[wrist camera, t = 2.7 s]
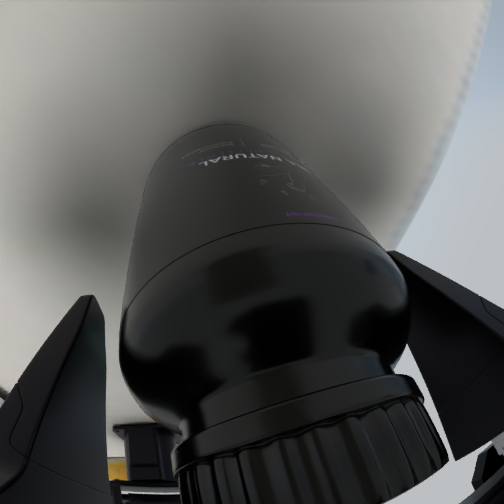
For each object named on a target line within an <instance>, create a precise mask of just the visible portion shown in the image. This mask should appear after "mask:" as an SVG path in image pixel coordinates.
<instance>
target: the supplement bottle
mask: <svg viewBox="0 0 504 504" xmlns="http://www.w3.org/2000/svg"><path fill="white" fill-rule="evenodd" d="M410 327H411V301H410V296H409V291H408V287H407V284H406V282H405V280H404V277H403V275H402V273H401V272H400V270H399V269H398V267H397V266H396V264H395V263H394V261H393V260H392V259H391V258H390V256H389V255H388V253H387V252H386V251H385V250H384V248H383V247H382V246H381V245H380V244H379V243H378V241H377V240H376V239H375V238H374V237H373V236H372V235H371V234H370V232H369V231H368V230H367V229H366V228H365V227H364V226H363V225H362V224H361V222H360V221H359V220H358V219H357V218H356V217H355V216H354V215H353V214H352V213H351V212H350V211H349V210H348V208H347V207H346V206H345V205H344V204H343V203H342V202H341V201H340V200H339V199H338V198H337V197H336V196H335V195H334V194H333V193H332V192H331V191H330V190H329V189H328V188H327V187H326V186H325V185H324V184H323V183H322V182H321V181H320V180H319V179H318V178H317V177H316V176H315V175H314V174H313V173H312V172H311V171H310V170H309V169H308V168H307V167H306V166H305V165H304V164H303V163H302V162H301V161H300V160H299V159H298V158H296V157H295V156H294V155H293V154H292V153H291V152H290V151H289V150H288V149H287V148H285V147H284V146H283V145H282V144H281V143H279V142H278V141H277V140H275V139H274V138H272V137H271V136H269V135H267V134H265V133H263V132H261V131H259V130H256V129H253V128H250V127H246V126H240V125H216V126H210V127H206V128H202V129H200V130H197V131H194V132H192V133H190V134H188V135H186V136H184V137H183V138H181V139H179V140H178V141H177V142H175V143H174V144H173V145H171V146H170V147H169V148H168V149H167V150H166V151H165V152H164V153H163V155H162V156H161V157H160V158H159V160H158V161H157V162H156V164H155V166H154V168H153V169H152V171H151V173H150V176H149V178H148V180H147V184H146V187H145V190H144V194H143V198H142V202H141V206H140V210H139V215H138V219H137V224H136V229H135V234H134V239H133V244H132V249H131V254H130V260H129V266H128V272H127V278H126V284H125V291H124V298H123V306H122V314H121V322H120V332H119V363H120V368H121V372H122V376H123V379H124V381H125V383H126V386H127V388H128V390H129V392H130V393H131V395H132V397H133V398H134V400H135V401H136V403H137V404H138V405H139V406H140V408H141V409H142V410H143V411H144V412H145V413H146V414H147V415H148V416H149V417H150V418H152V419H153V420H154V421H155V422H157V423H158V424H160V425H161V426H163V427H165V428H166V429H168V430H170V431H172V432H174V433H176V434H179V435H181V436H182V440H183V441H181V442H180V443H179V444H177V445H176V446H175V447H174V448H173V450H172V452H171V463H172V471H173V476H174V478H175V479H176V480H177V481H178V483H179V492H180V498H181V504H384V503H386V502H388V501H390V500H392V499H394V498H396V497H397V496H399V495H401V494H403V493H405V492H406V491H408V490H410V489H411V488H413V487H415V486H417V485H418V484H420V483H421V482H423V481H424V480H426V479H427V478H429V477H430V476H432V475H433V474H434V473H436V472H437V471H438V470H440V469H441V468H442V467H443V466H444V465H445V464H446V463H447V462H448V461H449V458H448V453H447V451H446V448H445V446H444V444H443V442H442V440H441V438H440V436H439V434H438V432H437V430H436V428H435V426H434V424H433V422H432V420H431V418H430V416H429V414H428V412H427V410H426V409H425V407H424V405H423V403H424V396H423V394H422V393H421V391H420V389H419V387H418V385H417V384H416V382H415V380H414V379H413V378H412V377H410V376H408V375H403V374H395V372H394V371H393V370H394V368H395V367H396V365H397V363H398V361H399V360H400V358H401V356H402V354H403V351H404V349H405V347H406V344H407V341H408V337H409V333H410Z"/></svg>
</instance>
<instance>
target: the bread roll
mask: <svg viewBox="0 0 504 504" xmlns="http://www.w3.org/2000/svg"><path fill="white" fill-rule="evenodd" d="M107 461H108V473H109V479H111V480H114V479H120V480H126V481H127V473H126V461H125V458H107Z"/></svg>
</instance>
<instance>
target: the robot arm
mask: <svg viewBox="0 0 504 504" xmlns="http://www.w3.org/2000/svg"><path fill="white" fill-rule="evenodd" d="M387 253H388V255H389V256H390V258H391V259H392V260H393V261H394V263H395V264H396V266H397V267H398V269H399V270H400V272H401V273H402V275H403V277H404V280H405V282H406V284H407V287H408V291H409V296H410V301H411V327H410V333H409V337H408V341H407V344H408V346H409V348H410V350H411V353H412V355H413V357H414V359H415V361H416V363H417V366H418V368H419V370H420V372H421V374H422V377H423V379H424V381H425V383H426V386H427V388H428V391H429V393H430V395H431V397H432V400H433V403H434V405H435V408H436V410H437V412H438V415H439V418H440V421H441V423H442V426H443V428H444V431H445V434H446V437H447V439H448V442H449V445H450V448H451V451H452V454H453V457H454V459H455V461H457V460H459V459H461V458H462V457H464V456H466V455H468V454H470V453H471V452H473V451H475V450H476V449H478V448H480V447H481V446H483V445H485V444H486V443H488V442H489V441H492V444H491V445H489V446H488V447H487V448H486V449H485V450H484V451H483V452H481V453H480V454H479V455H478V458H477V462H476V467H475V471H474V475H473V479H472V482H471V483H472V485H473V487H474V490H475V491H474V492H473V493H472V494H471V495H470V496H468V497H467V498H466V499H465V500H464V501H462V502H461V503H459V504H504V309H502V308H500V307H499V306H497V305H495V304H493V303H492V302H490V301H488V300H486V299H485V298H483V297H481V296H479V295H478V294H475V293H474V292H472V291H471V290H469V289H467V288H465V287H463V286H462V285H459V284H458V283H456V282H454V281H453V280H451V279H449V278H447V277H445V276H443V275H442V274H440V273H438V272H436V271H434V270H432V269H430V268H428V267H426V266H424V265H422V264H421V263H419V262H417V261H415V260H413V259H411V258H409V257H407V256H405V255H403V254H401V253H399V252H397V251H394V250H393V251H387ZM113 431H114V432H115V433H116V434H117V435H118V436H119V437H121V438H122V439H123V440H124V447H125V461H126V473H127V481H126V480H120V479H114V480H112V481H109V473H108V461H107V444H106V348H105V320H104V315H103V313H102V310H101V308H100V306H99V304H98V302H97V300H96V298H95V296H94V295H85V296H81V297H80V298H79V299H78V300H77V301H76V302H75V304H74V305H73V306H72V307H71V309H70V310H69V311H68V312H67V314H66V315H65V316H64V317H63V319H62V320H61V321H60V323H59V324H58V325H57V326H56V328H55V329H54V330H53V332H52V333H51V334H50V336H49V337H48V338H47V340H46V341H45V342H44V344H43V345H42V347H41V348H40V349H39V351H38V352H37V353H36V355H35V356H34V358H33V359H32V361H31V362H30V363H29V365H28V366H27V368H26V369H25V371H24V372H23V374H22V375H21V377H20V378H19V380H18V383H16V384H15V386H14V387H13V389H12V390H11V392H10V393H9V395H8V396H7V398H6V399H5V401H4V403H3V404H2V406H1V407H0V504H181V498H180V494H176V495H175V494H174V495H172V494H171V495H160V494H159V495H158V494H132V493H128V494H121V491H133V492H164V493H167V492H179V483H178V481H177V480H176V479H175V478H174V476H173V471H172V463H171V452H172V450H173V448H174V447H175V446H176V444H179V443H180V442H181V441H183V440H182V438H181V437H180V435H179V434H176V433H174V432H172V431H170V430H168V429H166V428H165V427H163V426H161V425H160V424H153V425H135V426H113Z"/></svg>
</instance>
